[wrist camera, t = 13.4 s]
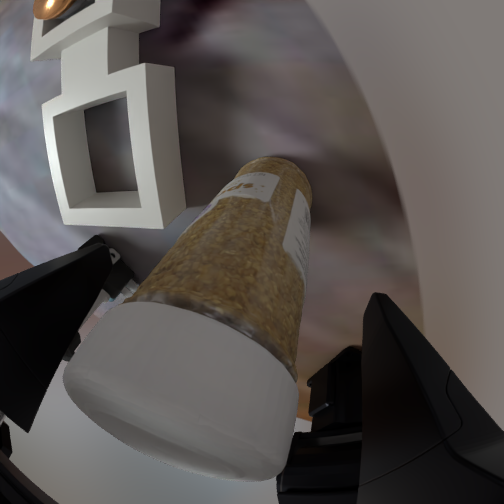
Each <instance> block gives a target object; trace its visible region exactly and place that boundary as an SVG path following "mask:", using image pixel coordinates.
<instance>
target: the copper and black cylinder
mask: <svg viewBox="0 0 504 504" xmlns="http://www.w3.org/2000/svg"><path fill="white" fill-rule="evenodd" d="M94 3H95V0H35V1H34V6H33V13H34V16H35V18H36V19H41V20H53V19H69V18H70V17H72V16H73V15H75V14H77V13H78V12H80V11H82V10H83V9H85V8H87V7H89V6H90V5H92V4H94Z"/></svg>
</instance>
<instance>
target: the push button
mask: <svg viewBox="0 0 504 504" xmlns="http://www.w3.org/2000/svg"><path fill="white" fill-rule="evenodd" d="M103 242H104V241H103V239H102V238H101V237H100V236H98V235H95V236H93V237H92V238H91V239H89V240H88V241H87V242H86V243H84V244H83V245H82V246H81V247H79V248H78V250H80V249H83V248H86V247H89V246H92V245H95V244H98V243H100V244H103ZM109 250H110V254H111V259H112V263H113V269H112V271H111V273H110V275H109V277H108V279H107V280H106V282H105V284H104V286H103V288H102V290H101V292H100V294H99V296H98V298H97V300H96V301H95V303H94V305H93V307H92V308H91V310H90V311H89V313H88V315H87V316H86V318H85V320H84V321H83V323H82V325H81V326H80V328H81V327H82V326H83V324H84V323H85V322H86V321H87V320H88V318H89V317H90V316H91V315H92V314H93V313H94V311H95V310H96V309H97V308H98V307H99V306H100V304H101V303H102V302H104V303H107V302H108V300H109V301H110V302H113V301H114V300H115V299H116V297H117V296H118V295H119V294H120V293H122V294H123V295H124V296H125V297H126V296H127V297H128V298H129V297H132V295H133V293H131V292H130V291H131V290H133V291H134V292H136V290H137V289H138V286H137V285H136V283H135V282H134V281H133V280H132V277H133V276H134V273H133V271H132V270H130V269H129V268H128V267H127V266H126V265H125V264H124V263H123V262H122V261H121V260H120V259H119V258H120V255H119V254H118V253H117V252H116V251H115V250H114V249H112V248H111V249H109ZM114 254H115V255H114ZM126 286H127V287H128V288H127V287H126ZM80 328H79V329H80ZM78 331H79V330H78ZM80 343H81V339H80V334H79V333H78V332H77V333H76V335H75V337H74V339H73V340H72V342H71V344H70V346H69V347H68V349H67V351H66V353H65V355H64V357H63V359H62V360H65V361H68V362H69V361H70V360H71V358H72V357H73V355H74V354H75V352H74V351H75V349H76V348H77V347H78V345H79V344H80Z"/></svg>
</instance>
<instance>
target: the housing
mask: <svg viewBox="0 0 504 504" xmlns="http://www.w3.org/2000/svg"><path fill="white" fill-rule="evenodd" d="M158 27H160V0H95V3H94V4H92V5H90V6H89V7H87V8H85V9H83V10H82V11H80V12H78V13H77V14H75V15H73V16H72V17H70V18H69V19H53V20H41V19H36V18H35V17H34V24H33V33H32V44H31V61H42V60H57V59H61V85H62V94H61V95H59V96H57V97H55V98H53V99H51V100H50V101H48V102H46V103H44V104H42V113H43V124H44V132H45V140H46V147H47V153H48V159H49V164H50V169H51V174H52V179H53V184H54V188H55V192H56V196H57V200H58V204H59V208H60V212H61V215H62V219H63V222H64V225H89V226H112V227H132V228H151V229H165V228H166V227H167V226H168V225H169V224H170V223H171V222H172V221H173V220H174V219H175V218H176V217H177V216H178V215H180V214H181V213H182V212H183V211H184V210H185V209H186V200H185V192H184V184H183V175H182V166H181V156H180V146H179V134H178V122H177V108H176V92H175V72H174V67H170V66H164V65H158V64H151V63H143V64H139V33H142V32H145V31H148V30H151V29H154V28H158ZM124 97H127V106H128V117H129V127H130V136H131V145H132V152H133V160H134V167H135V173H136V179H137V185H138V191H118V192H100V193H96V188H95V183H94V178H93V173H92V168H91V162H90V156H89V149H88V143H87V135H86V127H85V118H84V110H85V109H88V108H91V107H94V106H97V105H100V104H103V103H107V102H110V101H113V100H117V99H120V98H124Z"/></svg>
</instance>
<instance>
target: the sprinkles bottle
mask: <svg viewBox="0 0 504 504" xmlns="http://www.w3.org/2000/svg"><path fill="white" fill-rule="evenodd" d="M311 205H312V190H311V186H310V184H309V181H308V180H307V178H306V175H305V174H304V173H303V172H302V171H301V170H300V169H299V168H298V167H297V166H296V165H295V164H294V163H292V162H290V161H288V160H285V159H282V158H278V157H276V158H275V157H262V158H258V159H256V160H253V161H251V162H249V163H248V164H246V165H245V166H243V167H242V168H241V169H240V170H239V172H238V174H237V175H236V176H235V178H234V179H233V180H232V181H231V182H230V183H228V184H227V185H226V186H225V187H224V188H223V189H222V190H221V191H220V192H219V193H218V195H217V196H216V197H215V198H214V199H213V200H212V201H211V202H210V204H209V205H208V206H207V207H206V208H205V209H204V210H203V211H202V212H201V213H200V214H199V215H198V216H197V217H196V219H195V220H194V221H193V222H192V223H191V224H190V225H189V226H188V227H187V228H186V229H185V231H184V232H183V233H182V234H181V235H180V237H179V238H178V239H177V241H176V243H175V245H174V246H173V247H172V248H171V249H170V250H169V251H168V252H167V254H166V255H165V256H164V257H163V258H162V260H161V261H160V262H159V263H158V265H157V266H156V267H155V268H154V269H153V270H152V271H151V273H150V274H149V276H148V277H147V278H146V279H145V280H144V281H143V282H142V283H141V284H140V286H139V287H138V289H137V290H136V292H135V293H134V294H133V295H132V297H129V298H126V299H125V300H124V302H123V303H122V304H119V305H118V306H116V307H113V308H111V309H110V310H108V311H107V312H106V313H105V314H104V315H103V317H102V318H101V319H100V320H99V322H98V323H97V324H96V325H95V326H94V328H93V329H92V330H91V332H90V333H89V334H88V335H87V337H86V338H85V339H84V341H83V342H82V344H81V345H80V347H79V348H78V349H77V351H76V352H75V354H74V355H73V357H72V358H71V360H70V361H69V363H68V364H67V366H66V368H65V370H64V374H63V383H64V386H65V389H66V391H67V393H68V395H69V396H70V398H71V399H72V400H73V402H74V403H75V404H76V405H77V406H78V408H79V409H81V410H82V411H83V412H84V413H85V414H86V415H87V416H88V417H89V418H90V419H91V420H93V421H94V422H95V423H96V424H97V425H99V426H100V427H101V428H103V429H104V430H105V431H107V432H108V433H110V434H111V435H113V436H114V437H116V438H117V439H118V440H120V441H122V442H123V443H125V444H126V445H128V446H130V447H132V448H134V449H135V450H137V451H139V452H141V453H143V454H145V455H147V456H149V457H151V458H154V459H156V460H158V461H160V462H163V463H165V464H168V465H171V466H173V467H176V468H179V469H182V470H185V471H188V472H192V473H196V474H200V475H204V476H209V477H213V478H218V479H224V480H231V481H246V482H254V481H264V480H268V479H271V478H274V477H275V476H277V475H278V474H280V473H281V472H282V470H283V469H284V467H285V465H286V462H287V458H288V454H289V450H290V446H291V442H292V437H293V432H294V426H295V421H296V414H297V407H298V399H299V393H298V388H297V385H296V382H297V370H296V366H295V360H296V355H297V344H298V336H299V327H300V322H301V316H302V308H303V305H304V301H305V296H306V285H307V273H308V259H309V244H310V224H311V218H310V208H311Z"/></svg>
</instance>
